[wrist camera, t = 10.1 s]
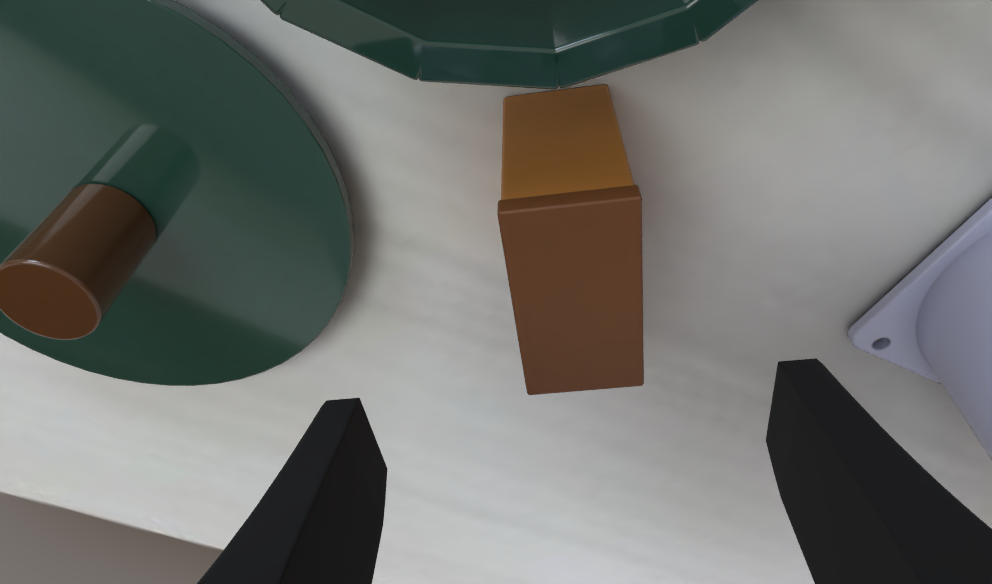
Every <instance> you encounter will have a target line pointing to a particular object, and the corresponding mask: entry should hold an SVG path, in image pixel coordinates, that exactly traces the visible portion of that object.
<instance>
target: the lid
mask: <svg viewBox="0 0 992 584" xmlns="http://www.w3.org/2000/svg"><path fill="white" fill-rule="evenodd" d="M353 253H354V224H353V218H352V212H351V206H350V200H349V197H348V194H347V190H346V187H345V184H344V181H343V178H342V175H341V172H340V170H339V167H338V165H337V163H336V161H335V159H334V157H333V155H332V153H331V151H330V148H329V146H328V144H327V142H326V141H325V139H324V137H323V136H322V134H321V133H320V131H319V130H318V128H317V126H316V125H315V123H314V122H313V120H312V119H311V117H310V115H309V114H308V113H307V111H306V110H305V109H304V108H303V106H302V105H301V104H300V103H299V101H298V100H297V99H296V98H295V97H294V95H293V94H292V93H291V92H290V90H289V89H288V88H287V87H286V85H285V84H284V83H283V82H282V81H281V80H280V79H279V78H278V77H277V76H276V75H274V74H273V73H272V72H271V71H270V70H269V69H268V68H267V67H266V66H265V65H264V64H263V63H262V62H261V61H260V60H259V59H258V58H257V57H256V56H255V55H253V54H252V53H251V52H250V51H248V50H247V49H246V48H245V47H244V46H242V45H241V44H240V43H239V42H237V41H236V40H235V39H234V38H232V37H231V36H230V35H229V34H227V33H226V32H224V31H223V30H221V29H220V28H218V27H217V26H215V25H214V24H212V23H211V22H209V21H207V20H206V19H204V18H203V17H201V16H200V15H198V14H197V13H195V12H194V11H192V10H190V9H188V8H186V7H184V6H182V5H180V4H178V3H176V2H174V1H173V0H0V333H2V334H3V335H5V336H7V337H9V338H11V339H13V340H14V341H16V342H18V343H20V344H22V345H24V346H26V347H28V348H30V349H32V350H34V351H36V352H39V353H41V354H44V355H46V356H48V357H51V358H53V359H55V360H58V361H60V362H63V363H66V364H69V365H72V366H74V367H77V368H80V369H83V370H86V371H89V372H93V373H97V374H101V375H105V376H109V377H113V378H117V379H122V380H128V381H134V382H139V383H147V384H158V385H169V386H196V385H207V384H218V383H224V382H229V381H234V380H239V379H243V378H246V377H249V376H253V375H256V374H259V373H262V372H265V371H267V370H269V369H271V368H273V367H275V366H277V365H280V364H282V363H284V362H285V361H287V360H288V359H290V358H291V357H293V356H295V355H296V354H298V353H299V352H301V351H302V350H303V349H304V348H305V347H307V346H308V345H309V344H310V343H311V342H312V341H313V340H314V339H316V338H317V337H318V335H319V334H320V333H321V332H322V331H323V329H324V328H325V327H326V326H327V324H328V323H329V322H330V321H331V319H332V317H333V315H334V313H335V312H336V310H337V308H338V306H339V304H340V303H341V300H342V297H343V294H344V291H345V288H346V285H347V282H348V279H349V276H350V272H351V266H352V259H353Z"/></svg>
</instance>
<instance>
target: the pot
mask: <svg viewBox="0 0 992 584" xmlns="http://www.w3.org/2000/svg"><path fill="white" fill-rule="evenodd" d="M261 1H262V2H263V3H264V4H265V5H266V6H267V7H268V8H269V9H270V10H271V11H272V12H273V13H275V14H276V15H280V18H281V19H282V20H284V21H287V22H289V23H291V24H293V25H295V26H298V27H300V28H302V29H304V30H306V31H309V32H311V33H313V34H315V35H317V36H320V37H322V38H324V39H326V40H328V41H330V42H333V43H335V44H337V45H339V46H341V47H344V48H346V49H348V50H350V51H352V52H355V53H357V54H359V55H361V56H363V57H366V58H368V59H370V60H372V61H374V62H376V63H379V64H381V65H383V66H385V67H387V68H390V69H392V70H394V71H396V72H398V73H401V74H403V75H405V76H407V77H409V78H412V79H414V80H417V79H418V78H419V80H420V81H425V82H442V83H458V84H475V85H492V86H508V87H525V88H542V89H557V88H558V87H560V88H565V87H568V86H571V85H574V84H577V83H580V82H583V81H586V80H590V79H593V78H596V77H599V76H602V75H605V74H608V73H611V72H614V71H617V70H621V69H624V68H627V67H630V66H633V65H636V64H639V63H642V62H645V61H648V60H652V59H655V58H658V57H661V56H664V55H667V54H670V53H673V52H676V51H679V50H682V49H686V48H689V47H692V46H695V45H697V44H699V41H702V42H703V41H705V40H707V39H708V38H709V37H711V36H712V35H713V34H715V33H716V32H717V31H719V30H720V29H721V28H723V27H724V26H725V25H726V24H728V23H729V22H730V21H732V20H733V19H734V18H736V17H737V16H738V15H740V14H741V13H742V12H744V11H745V10H746V9H747V8H749V7H750V6H751V5H753V4H754V3H755V2H757V1H758V0H261Z"/></svg>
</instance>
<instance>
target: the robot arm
mask: <svg viewBox="0 0 992 584" xmlns="http://www.w3.org/2000/svg"><path fill="white" fill-rule="evenodd" d="M848 337H849V339H850V341H851V343H852V345H853V346H854V347H856V348H858V349H860V350H862V351H865V352H867V353H869V354H872V355H874V356H876V357H879V358H881V359H884V360H886V361H888V362H891V363H893V364H895V365H898V366H900V367H902V368H905V369H907V370H910V371H912V372H914V373H917V374H919V375H921V376H924V377H926V378H928V379H931V380H933V381H935V382H938V383H940V384H942V385H943V386H944V388H945V389H946V391H947V392H948V394H949V396H950V397H951V399H952V400H953V402H954V403H955V405H956V406H957V408H958V409H959V411H960V412H961V414H962V415H963V417H964V419H965V420H966V422H967V423H968V425H969V426H970V428H971V429H972V431H973V432H974V434H975V435H976V437H977V438H978V440H979V442H980V443H981V445H982V446H983V448H984V449H985V451H986V452H987V454H988V455H989V457H990V458H991V460H992V198H991V199H990V200H989V201H988V202H987V203H985V204H984V205H983V206H982V207H981V208H980V209H979V210H978V211H977V212H976V213H975V214H973V215H972V216H971V217H970V218H969V219H968V220H967V221H966V222H965V223H964V224H963V225H961V226H960V227H959V228H958V229H957V230H956V231H955V232H954V233H953V234H952V235H951V236H949V237H948V238H947V239H946V240H945V241H944V242H943V243H942V244H941V245H940V246H939V247H937V248H936V249H935V250H934V251H933V252H932V253H931V254H930V255H929V256H928V257H927V258H925V259H924V260H923V261H922V262H921V263H920V264H919V265H918V266H917V267H916V268H915V269H913V270H912V271H911V272H910V273H909V274H908V275H907V276H906V277H905V278H904V279H903V280H902V281H900V282H899V283H898V284H897V285H896V286H895V287H894V288H893V289H892V290H891V291H890V292H888V293H887V294H886V295H885V296H884V297H883V298H882V299H881V300H880V301H879V302H878V303H876V304H875V305H874V306H873V307H872V308H871V309H870V310H869V311H868V312H867V313H866V314H864V315H863V316H862V317H861V318H860V319H859V320H858V321H857V322H856V323H855V324H854V325H852V327H851V328H850V329H849V331H848ZM879 338H882V339H880V340H878V341H876V340H877V339H879ZM766 443H767V447H768V451H769V455H770V459H771V462H772V466H773V470H774V474H775V478H776V481H777V485H778V489H779V492H780V496H781V499H782V501H783V504H784V507H785V509H786V512H787V514H788V517H789V519H790V522H791V524H792V527H793V530H794V532H795V535H796V537H797V540H798V542H799V545H800V547H801V550H802V552H803V555H804V557H805V560H806V562H807V565H808V567H809V570H810V572H811V575H812V577H813V580H814V582H815V584H992V529H991V528H990V527H989V526H988V525H986V524H985V523H984V522H983V521H982V520H980V519H979V518H978V517H977V516H976V515H975V514H973V513H972V512H971V511H970V510H969V509H968V508H967V507H965V506H964V505H963V504H962V503H961V502H960V501H959V500H958V499H956V498H955V497H954V496H953V495H952V494H951V493H950V492H949V491H947V490H946V489H945V488H944V487H943V486H942V485H941V484H940V483H939V482H938V481H936V480H935V479H934V478H933V477H932V476H931V475H930V474H929V473H928V472H927V471H926V470H925V469H924V468H923V467H922V466H921V465H920V464H918V463H917V462H916V461H915V460H914V459H913V458H912V457H911V456H910V455H909V454H908V453H907V452H906V451H905V450H904V449H903V448H902V447H901V446H900V445H899V444H898V443H897V442H896V441H895V440H894V439H893V438H892V437H891V436H890V435H889V434H888V433H887V432H886V431H885V430H884V429H883V428H882V427H881V426H880V425H879V424H878V423H877V422H876V421H875V420H874V419H873V418H872V417H871V416H870V415H869V414H868V413H867V411H866V410H865V409H864V408H863V407H862V406H861V405H860V404H859V403H858V402H857V401H856V400H855V399H854V398H853V397H852V396H851V395H850V393H849V392H848V391H847V390H846V389H845V388H844V387H843V386H842V385H841V384H840V383H839V381H838V380H837V379H836V378H835V377H834V376H833V375H832V374H831V373H830V372H829V370H828V369H827V368H826V367H825V366H824V365H823V364H822V363H821V362H820V361H819V360H817V359H805V360H793V361H782V362H778V366H777V372H776V379H775V385H774V392H773V398H772V404H771V411H770V417H769V424H768V430H767V436H766ZM386 479H387V467H386V464H385V462H384V459H383V457H382V454H381V452H380V449H379V447H378V444H377V441H376V439H375V436H374V434H373V431H372V429H371V426H370V423H369V421H368V418H367V416H366V413H365V411H364V408H363V406H362V403H361V400H360V398H352V399H340V400H329V401H326V402H325V403H324V404H323V405H322V407H321V408H320V410H319V412H318V413H317V415H316V416H315V418H314V419H313V421H312V423H311V424H310V426H309V427H308V429H307V431H306V432H305V434H304V435H303V437H302V439H301V440H300V442H299V443H298V445H297V446H296V448H295V450H294V451H293V453H292V454H291V456H290V457H289V459H288V460H287V462H286V463H285V465H284V466H283V468H282V470H281V471H280V472H279V474H278V475H277V477H276V478H275V480H274V481H273V483H272V484H271V486H270V487H269V489H268V490H267V492H266V493H265V494H264V496H263V497H262V499H261V500H260V502H259V503H258V505H257V506H256V508H255V509H254V510H253V512H252V513H251V515H250V516H249V517H248V519H247V520H246V521H245V523H244V524H243V525H242V527H241V528H240V529H239V531H238V532H237V533H236V535H235V536H234V537H233V539H232V540H231V541H230V543H229V544H228V545H227V547H226V548H225V549H224V551H223V552H222V553H221V555H220V556H219V557H218V558H217V560H216V561H215V562H214V563H213V565H212V566H211V567H210V568H209V570H208V571H207V572H206V573H205V575H204V576H203V577H202V578H201V579H200V581H199V582H198V583H197V584H372V579H373V574H374V569H375V564H376V559H377V553H378V548H379V543H380V538H381V532H382V527H383V519H384V508H385V495H386Z"/></svg>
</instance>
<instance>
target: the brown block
mask: <svg viewBox="0 0 992 584" xmlns="http://www.w3.org/2000/svg"><path fill="white" fill-rule="evenodd" d="M498 220H499V226H500V232H501V238H502V244H503V250H504V256H505V262H506V268H507V274H508V280H509V287H510V293H511V299H512V305H513V311H514V317H515V323H516V329H517V335H518V341H519V347H520V353H521V359H522V365H523V371H524V377H525V383H526V389H527V393H528V395H536V394H548V393H560V392H572V391H584V390H596V389H608V388H620V387H632V386H642V385H643V384H644V359H643V274H642V198H641V194H640V190H639V187H638V186H637V185H634V182H633V178H632V174H631V171H630V167H629V163H628V159H627V156H626V152H625V148H624V144H623V141H622V137H621V133H620V129H619V125H618V122H617V118H616V114H615V110H614V107H613V103H612V99H611V95H610V92H609V88H608V86H607V85H596V86H588V87H580V88H572V89H565V90H557V91H549V92H541V93H533V94H525V95H517V96H510V97H506V98H504V101H503V141H502V185H501V200H499V201H498Z"/></svg>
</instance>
